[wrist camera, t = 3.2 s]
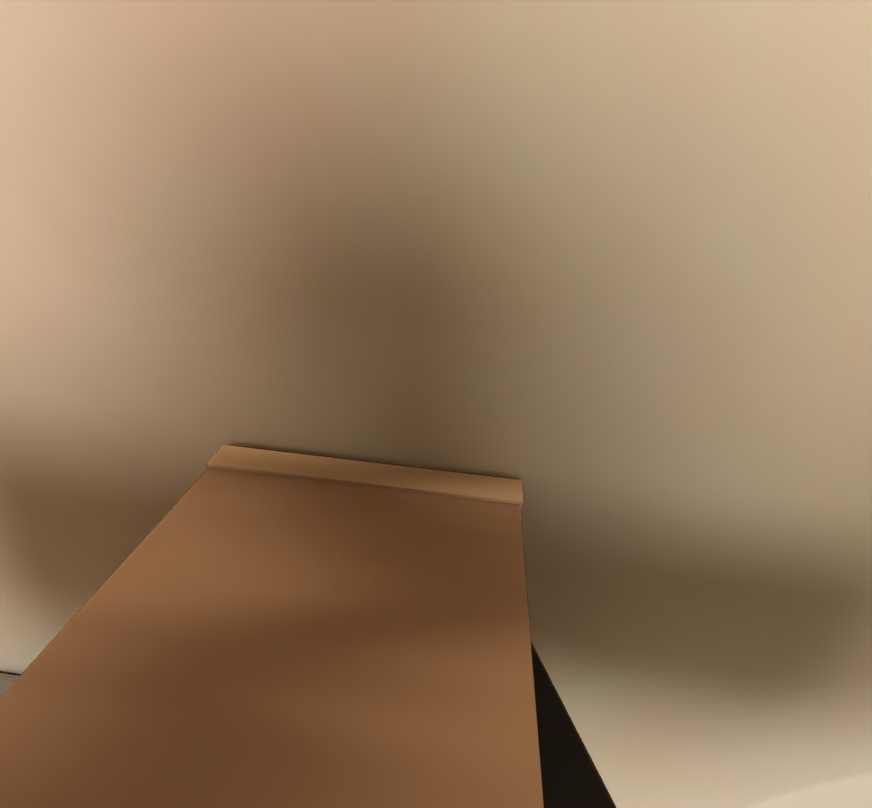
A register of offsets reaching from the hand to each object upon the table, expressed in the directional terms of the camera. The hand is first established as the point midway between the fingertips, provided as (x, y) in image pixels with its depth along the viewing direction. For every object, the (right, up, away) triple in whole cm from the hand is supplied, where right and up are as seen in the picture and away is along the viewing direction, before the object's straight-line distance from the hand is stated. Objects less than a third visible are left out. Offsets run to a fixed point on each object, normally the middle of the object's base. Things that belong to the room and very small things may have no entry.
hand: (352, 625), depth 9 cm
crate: (0, +1, +1) cm, 1 cm away
